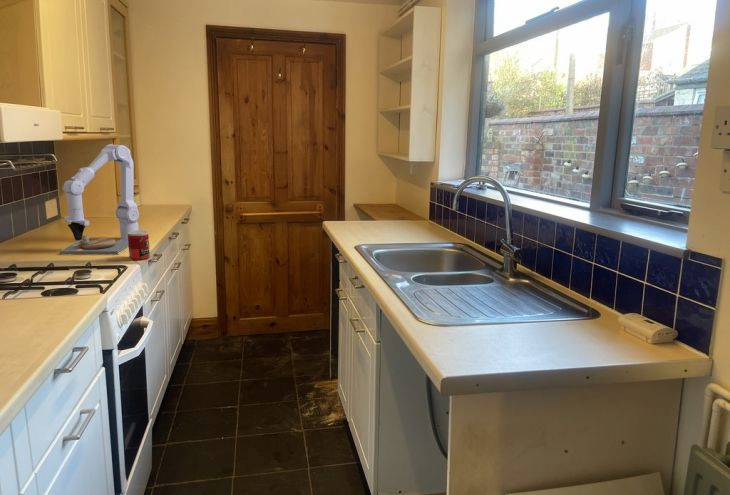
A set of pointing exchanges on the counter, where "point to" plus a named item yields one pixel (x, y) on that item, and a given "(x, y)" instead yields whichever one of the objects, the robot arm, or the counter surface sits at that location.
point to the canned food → (138, 245)
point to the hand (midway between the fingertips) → (78, 240)
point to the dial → (96, 243)
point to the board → (110, 250)
